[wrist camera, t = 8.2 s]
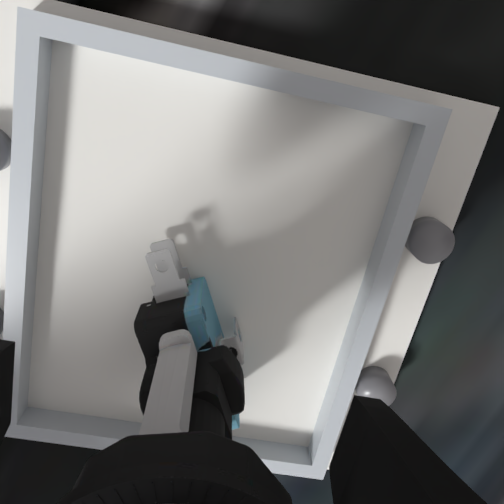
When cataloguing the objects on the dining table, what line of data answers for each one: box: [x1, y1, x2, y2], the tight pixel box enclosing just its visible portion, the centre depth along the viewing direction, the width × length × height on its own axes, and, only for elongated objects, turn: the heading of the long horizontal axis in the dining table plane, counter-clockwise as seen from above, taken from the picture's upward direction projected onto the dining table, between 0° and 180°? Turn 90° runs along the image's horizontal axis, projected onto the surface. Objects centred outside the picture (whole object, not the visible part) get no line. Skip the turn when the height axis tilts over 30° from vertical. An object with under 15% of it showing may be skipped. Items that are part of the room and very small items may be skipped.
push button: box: [56, 239, 292, 504], centre depth 12 cm, size 7×5×10 cm
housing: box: [0, 0, 500, 480], centre depth 16 cm, size 16×15×2 cm
